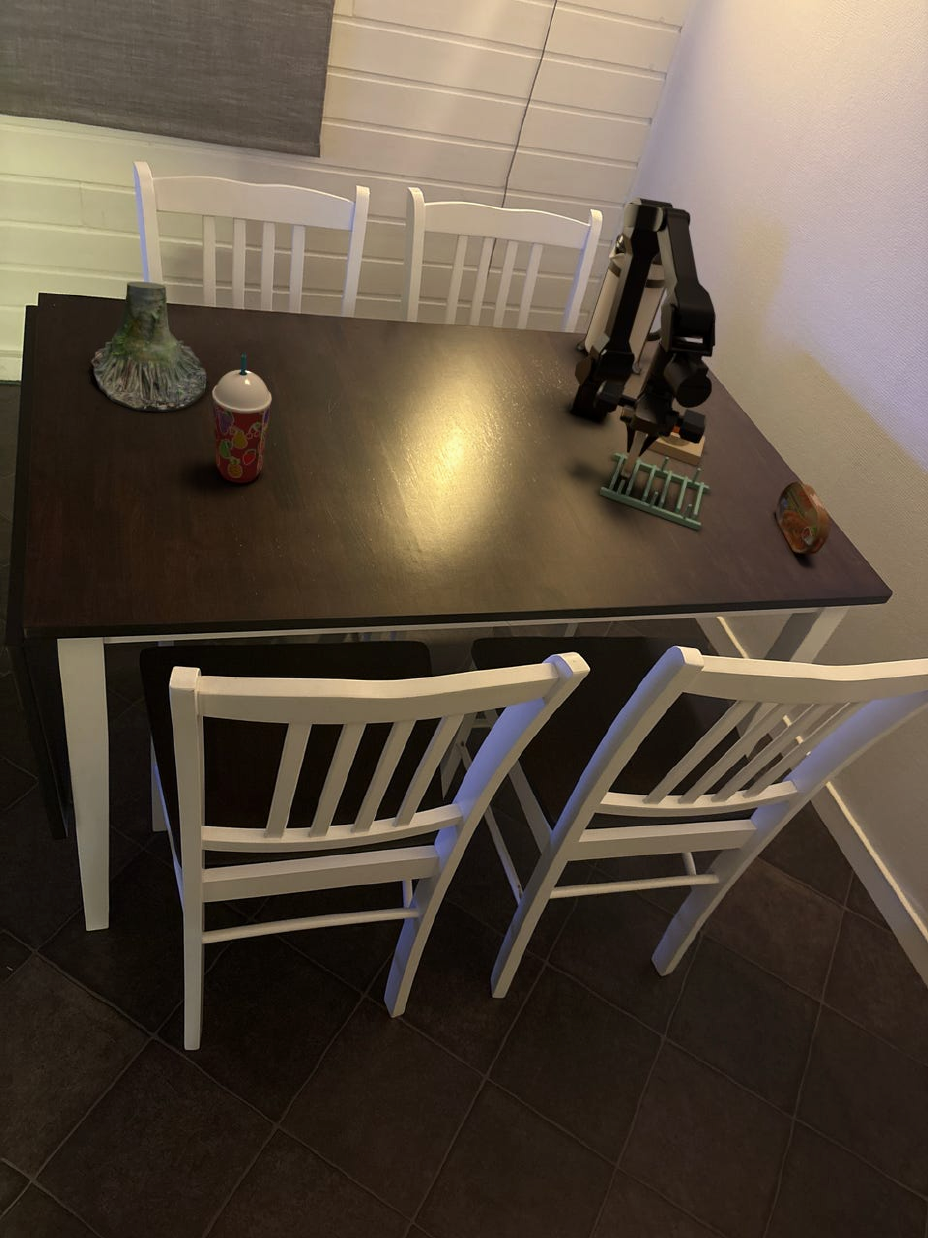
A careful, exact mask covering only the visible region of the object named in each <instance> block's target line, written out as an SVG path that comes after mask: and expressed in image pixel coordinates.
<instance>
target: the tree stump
mask: <svg viewBox="0 0 928 1238" xmlns="http://www.w3.org/2000/svg"><path fill="white" fill-rule="evenodd" d="M125 295H126V296H125V299H124V307H123V314H122V319H121V323H120V326H119V327H118V328H117V329H116V331H115V332H114V334H113V337H112V338H111V341H107V342H105V347H103V348H99V349H98V350H97V351H95V353H94V358H92V359H90V363H91V365H92V366H93V367H92V370H93V375H94V377H95V380H96V382H97V385H98V388H99V389H100V391H102V392H103V394H105V395H106V396H107V398H108V399H110V401H111V402H113V403H116V404H119V405H121V406H123V407H127V408H129V409H132V410H134V411H140V412H158V413H167V412H174V411H175V412H176V411H179V410H183V409H186V408H188V407H190V406H192V405H194V404H195V403H196V402H197V401H198V400H199V399H200V398H201V397H203V395H204V394H205V392H206V386H207V372H206V370H205V368H204V366H203V364H202V362H201V359H200V358H198V356H196V355H195V352H194V351H193V348H192V347H191V346H188V345H185V344H184V340H177V338H176V337H175V336H174V335H173V333H171V329H170V325H169V319H168V304H167V300H168V299H167V286H166V285H164V284H161V283H156V282H149V281H128V282H126V294H125Z"/></svg>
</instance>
